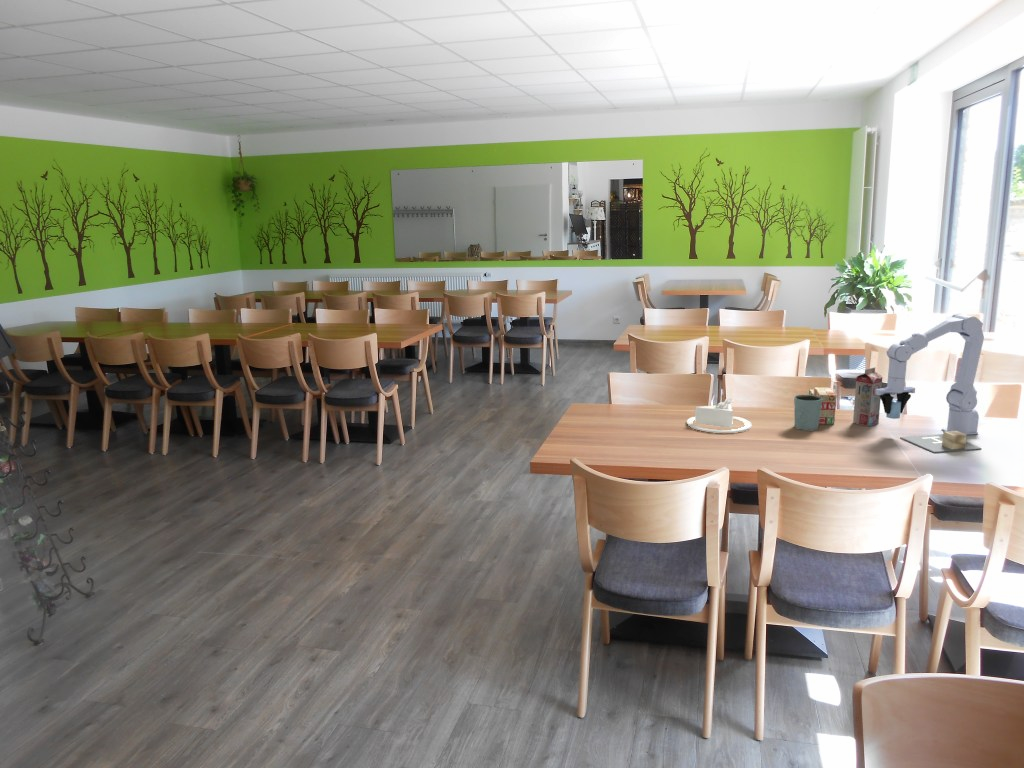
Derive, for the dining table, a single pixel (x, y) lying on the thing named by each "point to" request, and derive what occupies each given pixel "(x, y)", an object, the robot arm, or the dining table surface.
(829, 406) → the stack of blocks
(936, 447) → the letter board
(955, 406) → the robot arm
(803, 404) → the teal cup
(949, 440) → the maple block
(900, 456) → the dining table surface
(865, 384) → the juice carton
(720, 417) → the dish
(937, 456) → the dining table surface
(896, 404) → the blue capsule
